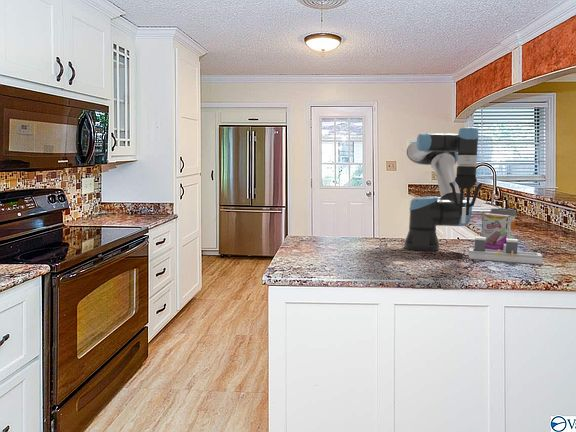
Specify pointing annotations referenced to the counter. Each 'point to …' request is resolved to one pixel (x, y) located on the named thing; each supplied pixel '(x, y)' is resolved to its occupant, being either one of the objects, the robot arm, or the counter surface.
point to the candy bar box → (496, 230)
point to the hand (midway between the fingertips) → (463, 223)
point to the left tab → (480, 243)
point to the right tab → (511, 245)
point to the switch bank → (506, 256)
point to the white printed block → (506, 212)
